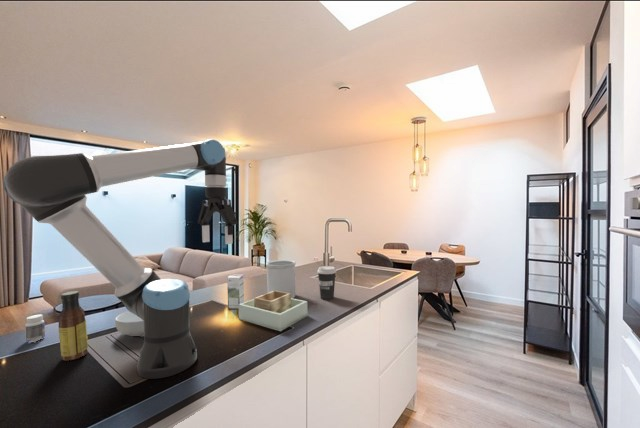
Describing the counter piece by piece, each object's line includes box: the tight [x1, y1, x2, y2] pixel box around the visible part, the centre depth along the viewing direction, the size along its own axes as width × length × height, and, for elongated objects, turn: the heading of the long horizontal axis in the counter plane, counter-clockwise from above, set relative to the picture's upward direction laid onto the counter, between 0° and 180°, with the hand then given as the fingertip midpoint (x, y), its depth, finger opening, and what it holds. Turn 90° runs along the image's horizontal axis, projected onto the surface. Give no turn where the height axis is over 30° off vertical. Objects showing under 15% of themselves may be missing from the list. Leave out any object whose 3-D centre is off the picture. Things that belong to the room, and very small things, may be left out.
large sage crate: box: [238, 298, 309, 332], centre depth 114 cm, size 17×22×6 cm
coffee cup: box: [316, 265, 337, 301], centre depth 138 cm, size 10×10×15 cm
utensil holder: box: [265, 259, 296, 299], centre depth 141 cm, size 15×15×18 cm
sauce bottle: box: [57, 290, 89, 362], centre depth 85 cm, size 6×6×20 cm
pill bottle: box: [24, 313, 46, 343], centre depth 97 cm, size 5×5×8 cm
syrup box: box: [226, 274, 245, 310], centre depth 127 cm, size 6×6×14 cm
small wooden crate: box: [253, 290, 291, 313], centre depth 114 cm, size 12×9×8 cm
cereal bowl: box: [114, 310, 144, 337], centre depth 102 cm, size 17×17×7 cm
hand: (217, 242), depth 107 cm, fingers open, 13 cm apart
